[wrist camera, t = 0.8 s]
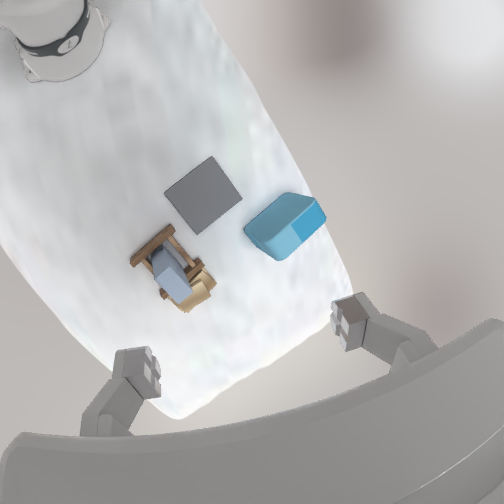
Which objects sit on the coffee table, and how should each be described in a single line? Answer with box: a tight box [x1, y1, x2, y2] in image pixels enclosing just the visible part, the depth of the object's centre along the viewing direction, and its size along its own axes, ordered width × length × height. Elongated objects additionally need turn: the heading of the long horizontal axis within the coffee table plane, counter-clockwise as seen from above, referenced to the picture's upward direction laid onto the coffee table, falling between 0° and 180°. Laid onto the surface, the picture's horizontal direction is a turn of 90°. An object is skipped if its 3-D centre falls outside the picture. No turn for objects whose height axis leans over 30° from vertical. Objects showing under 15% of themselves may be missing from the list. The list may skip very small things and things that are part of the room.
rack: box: [130, 224, 204, 300], centre depth 52 cm, size 10×10×3 cm
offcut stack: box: [168, 267, 216, 313], centre depth 55 cm, size 5×9×4 cm, turn 125°
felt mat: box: [164, 156, 243, 235], centre depth 52 cm, size 10×11×1 cm
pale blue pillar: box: [151, 245, 193, 304], centre depth 47 cm, size 6×3×13 cm, turn 35°
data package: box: [244, 193, 326, 261], centre depth 53 cm, size 12×4×12 cm, turn 127°
